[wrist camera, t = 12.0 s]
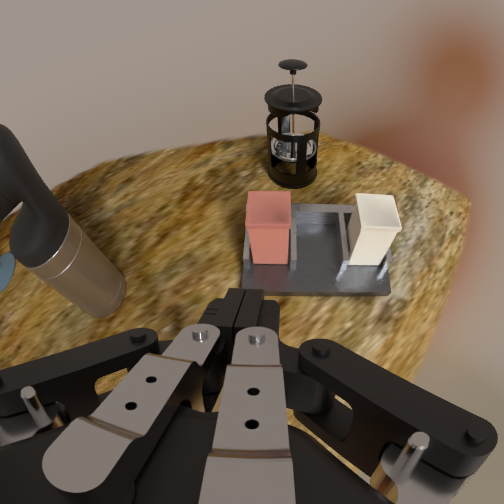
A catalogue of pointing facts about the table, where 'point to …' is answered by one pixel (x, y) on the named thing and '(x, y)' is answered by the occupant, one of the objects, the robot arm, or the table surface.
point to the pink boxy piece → (269, 225)
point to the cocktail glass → (6, 269)
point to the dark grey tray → (317, 259)
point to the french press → (292, 144)
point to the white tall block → (371, 228)
